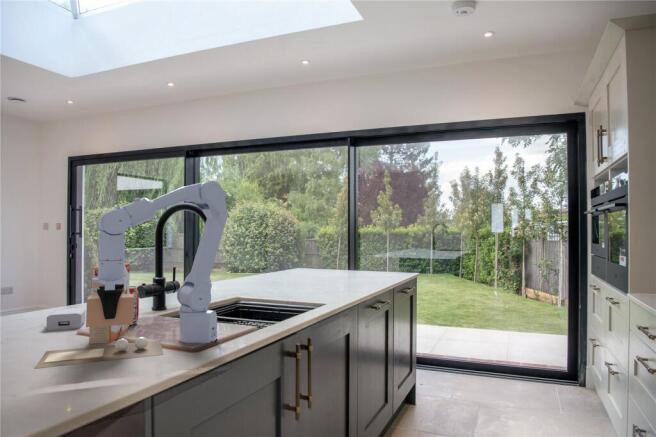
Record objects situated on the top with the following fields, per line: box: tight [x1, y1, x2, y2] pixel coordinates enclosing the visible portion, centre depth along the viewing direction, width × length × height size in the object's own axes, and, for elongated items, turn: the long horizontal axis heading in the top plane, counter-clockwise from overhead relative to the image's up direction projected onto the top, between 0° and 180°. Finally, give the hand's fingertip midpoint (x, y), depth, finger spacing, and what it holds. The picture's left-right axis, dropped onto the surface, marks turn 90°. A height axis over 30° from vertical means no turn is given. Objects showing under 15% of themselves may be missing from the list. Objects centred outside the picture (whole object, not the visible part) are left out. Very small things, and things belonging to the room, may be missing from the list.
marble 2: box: [134, 336, 148, 349], centre depth 109 cm, size 3×3×3 cm
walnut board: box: [33, 340, 164, 369], centre depth 105 cm, size 26×14×1 cm, turn 114°
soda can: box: [129, 285, 140, 326], centre depth 140 cm, size 7×7×12 cm
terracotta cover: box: [85, 294, 134, 328], centre depth 106 cm, size 10×6×6 cm, turn 114°
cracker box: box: [88, 262, 131, 344], centre depth 121 cm, size 14×6×21 cm, turn 7°
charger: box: [45, 307, 86, 331], centre depth 141 cm, size 5×9×15 cm
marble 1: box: [114, 338, 129, 351], centre depth 107 cm, size 3×3×3 cm
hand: (110, 316), depth 106 cm, fingers closed on terracotta cover, 6 cm apart
